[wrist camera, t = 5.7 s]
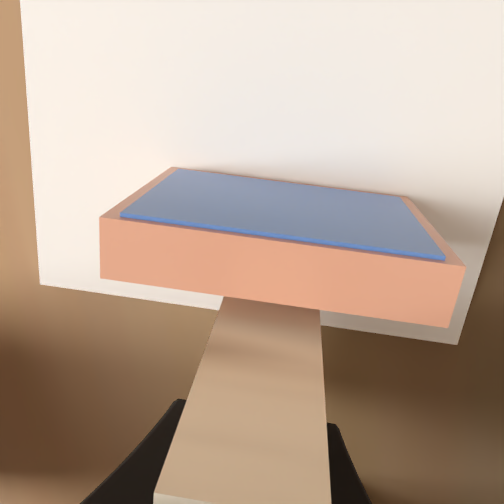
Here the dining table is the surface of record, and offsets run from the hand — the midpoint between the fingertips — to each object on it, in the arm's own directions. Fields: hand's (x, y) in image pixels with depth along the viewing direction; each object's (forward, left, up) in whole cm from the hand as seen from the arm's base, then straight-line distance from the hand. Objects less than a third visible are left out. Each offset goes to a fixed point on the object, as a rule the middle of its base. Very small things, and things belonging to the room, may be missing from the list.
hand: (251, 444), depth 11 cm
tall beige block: (0, 0, -4) cm, 4 cm away
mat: (+7, +1, -7) cm, 10 cm away
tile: (+3, 0, -7) cm, 8 cm away
